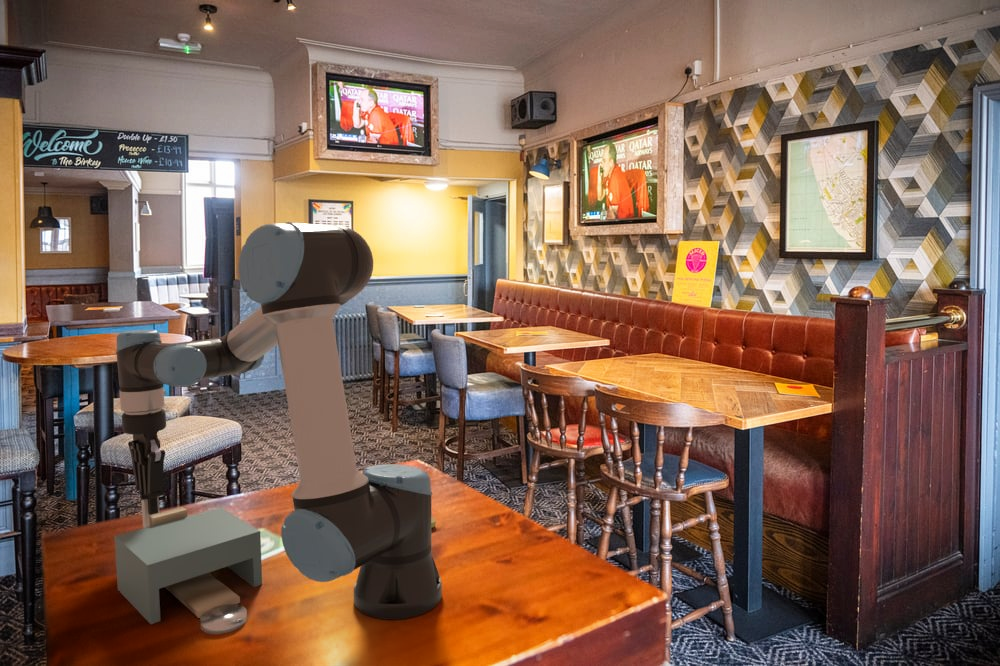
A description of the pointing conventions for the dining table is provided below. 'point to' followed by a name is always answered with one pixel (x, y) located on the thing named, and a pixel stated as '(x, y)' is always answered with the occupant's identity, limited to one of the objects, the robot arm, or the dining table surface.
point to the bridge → (184, 555)
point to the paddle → (196, 579)
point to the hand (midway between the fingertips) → (152, 528)
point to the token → (223, 619)
